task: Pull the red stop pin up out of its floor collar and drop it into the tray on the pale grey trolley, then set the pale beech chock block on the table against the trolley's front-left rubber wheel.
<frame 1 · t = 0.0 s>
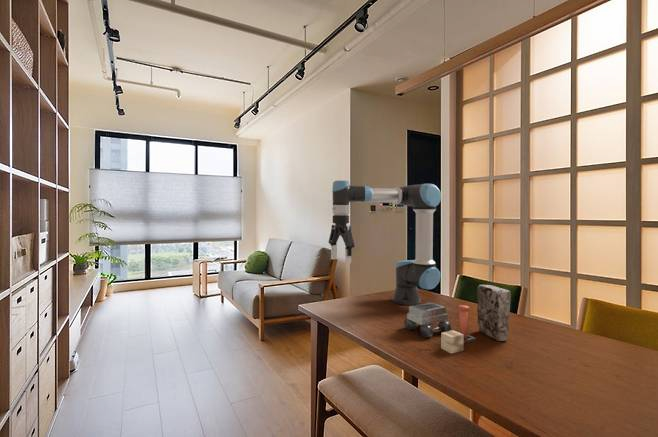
hand: (340, 261, 155), 28 cm above the table, fingers open, 13 cm apart
chock: (452, 349, 125), on the table
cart: (427, 330, 144), on the table
pin: (463, 338, 135), resting in collar
stone block: (492, 336, 139), on the table
collar: (463, 338, 135), on the table
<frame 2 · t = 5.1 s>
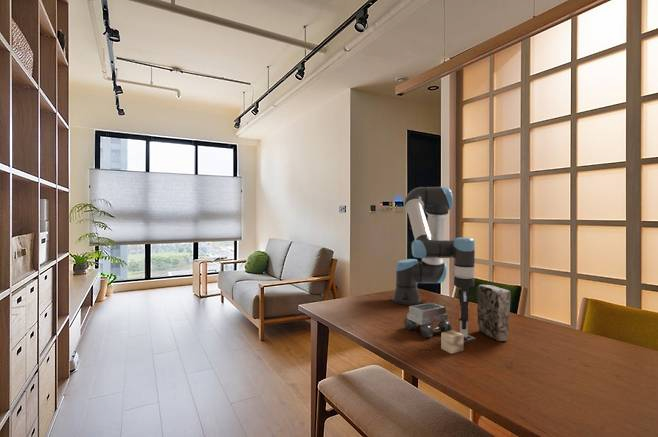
hand: (463, 334, 135), 2 cm above the table, fingers closed on pin, 3 cm apart
pin: (463, 338, 135), resting in collar, touching gripper
everything else where it was.
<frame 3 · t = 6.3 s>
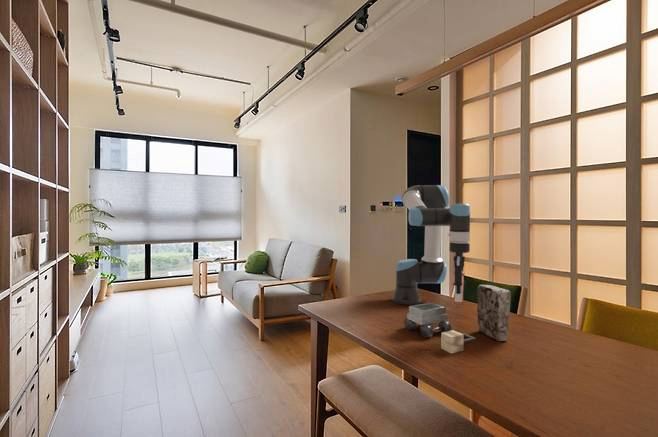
hand: (458, 300, 136), 15 cm above the table, fingers closed on pin, 3 cm apart
pin: (458, 303, 136), point 14 cm above the table, touching gripper
everything else where it was.
when the fingers open (11 cm above the table, at t = 7.9 s): pin stays where it is, resting on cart.
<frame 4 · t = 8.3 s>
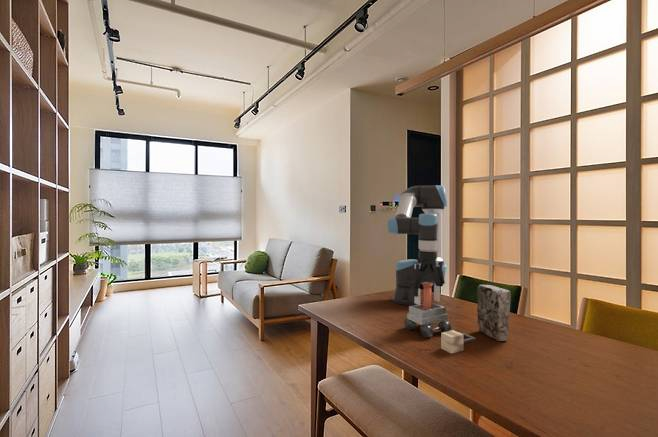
hand: (427, 302, 144), 12 cm above the table, fingers open, 10 cm apart
pin: (427, 313, 144), point 7 cm above the table, touching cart
everything else where it was.
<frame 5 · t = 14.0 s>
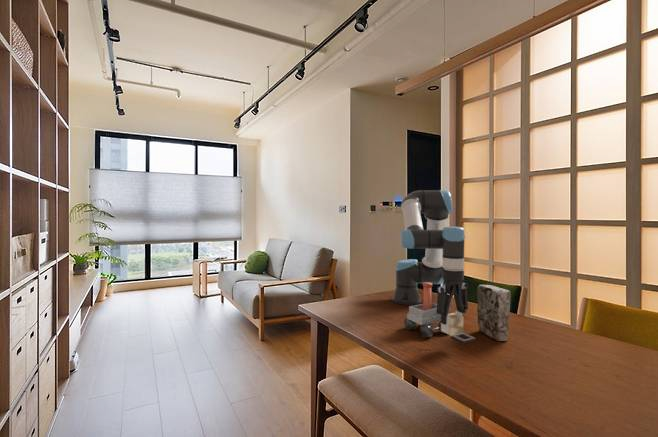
hand: (452, 330, 125), 7 cm above the table, fingers closed on chock, 6 cm apart
chock: (452, 331, 125), point 6 cm above the table, touching gripper
everything else where it was.
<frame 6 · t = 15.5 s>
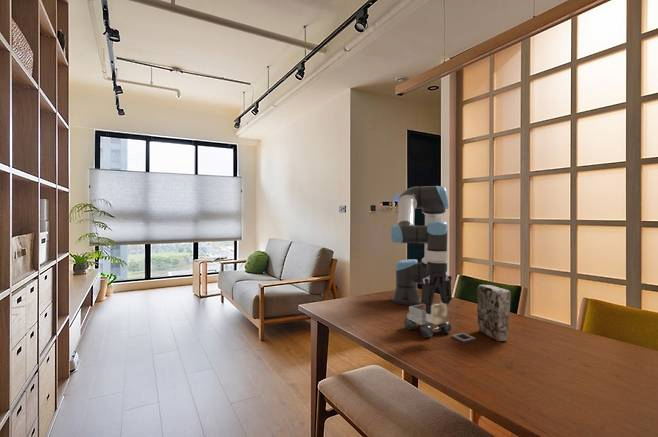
hand: (436, 320, 132), 8 cm above the table, fingers closed on chock, 6 cm apart
chock: (436, 321, 132), point 8 cm above the table, touching gripper
everything else where it was.
when the fingers open (0 cm above the table, at t = 17.1 s): chock stays where it is, on the table.
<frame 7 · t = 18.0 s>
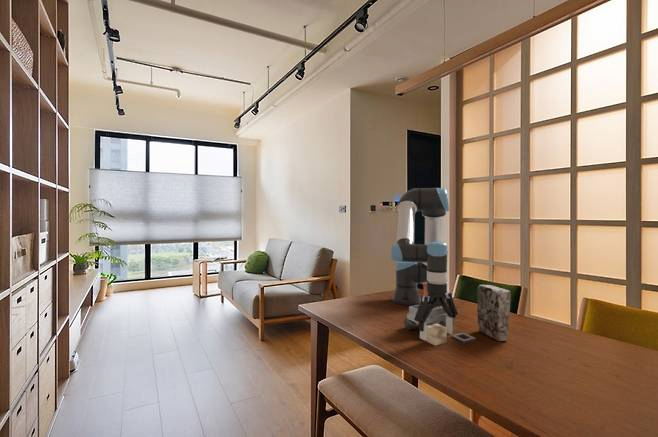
hand: (436, 336, 132), 2 cm above the table, fingers open, 13 cm apart
chock: (436, 342, 132), on the table
everything else where it was.
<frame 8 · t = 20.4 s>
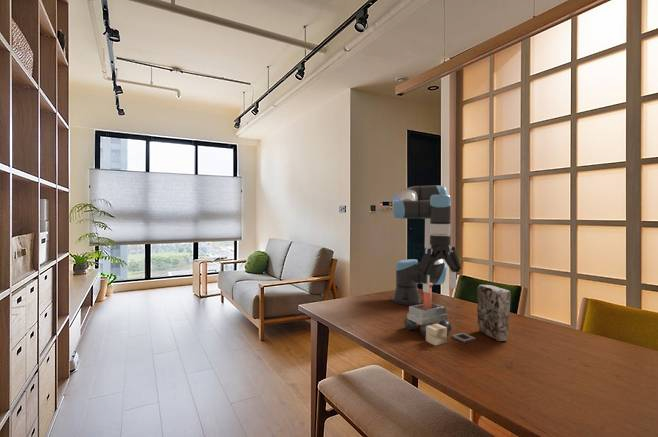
hand: (439, 290, 130), 21 cm above the table, fingers open, 13 cm apart
nothing on the table moved.
at the end: pin inside the target area on the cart (0.1 cm from its centre), point 7.4 cm above the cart's base; chock inside the target area (0.5 cm from its centre), on the table; pin touching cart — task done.
